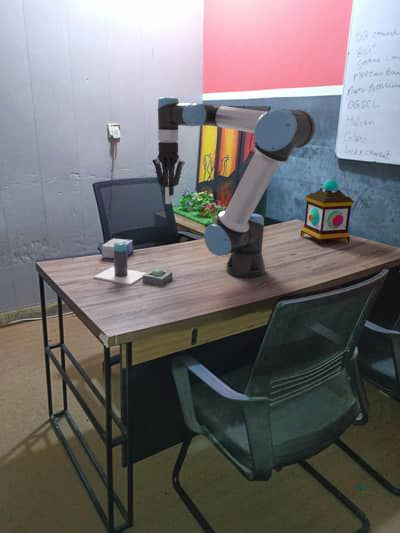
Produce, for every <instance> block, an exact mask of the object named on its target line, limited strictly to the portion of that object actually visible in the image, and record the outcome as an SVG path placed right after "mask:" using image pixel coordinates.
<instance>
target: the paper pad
mask: <svg viewBox="0 0 400 533" xmlns="http://www.w3.org/2000/svg"><path fill="white" fill-rule="evenodd" d="M146 273H147V272H144V271H139V270H138V271H137V270H132V269H128V275H127V276H125V277H117V276H115V271H114V266H110V267H109V268H107V269H106V270H103V271H101V272H99V273H97V274H95V275H94V276H93V278H94V279H96V280H102V281H107V282H113V283H118V284H122V285H127V286H132V285H134V284H135V283H137V282H138V281H139V282H140V280H143V275H144V274H146Z"/></svg>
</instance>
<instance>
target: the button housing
mask: <svg viewBox="0 0 400 533" xmlns="http://www.w3.org/2000/svg"><path fill="white" fill-rule="evenodd" d="M153 269H154V268H152V269H151V270H149V271H147V272H145V273H146V274H144V275H143V278H142V282H143V283H147V284H153V285H158V286H164V285H165V284H166V283H168V282H170V280H172V279H173V271H169V270H164V269H162V270H163V275H162V276H161V277H159V276H153V275H152V270H153Z"/></svg>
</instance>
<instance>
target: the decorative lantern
mask: <svg viewBox="0 0 400 533" xmlns="http://www.w3.org/2000/svg"><path fill="white" fill-rule="evenodd" d="M305 201H306V204H305V205H306V209H305V217H304V225H303V227H302V228H301V230H300V237H301V238H303V237H304V236H305V235H308V236H309V237H311V238H314V239H315V240H317V245H318V247H319V246H321V245H322V242H323V241H329V240H331V241H332V240H343V239H345V243H346V244H349V243H350V242H351V241H350V240H351V237H350V234H349V224H350V217H351V212H352V210H351V209H352V206H353V205H354V203H355V201H354V200H353V199H352V198H351V197H350V196H347V195H346V194H344V193H343V192H342V191H341V190H340V189H339V183H337V181H336V180H334V179H332V178H331V179H328V180H326V181H325V182H324V183H323V186H322V187H321V188H319V189H318V190H317V191H315V192H310V193H309V194H307V195H305Z"/></svg>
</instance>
